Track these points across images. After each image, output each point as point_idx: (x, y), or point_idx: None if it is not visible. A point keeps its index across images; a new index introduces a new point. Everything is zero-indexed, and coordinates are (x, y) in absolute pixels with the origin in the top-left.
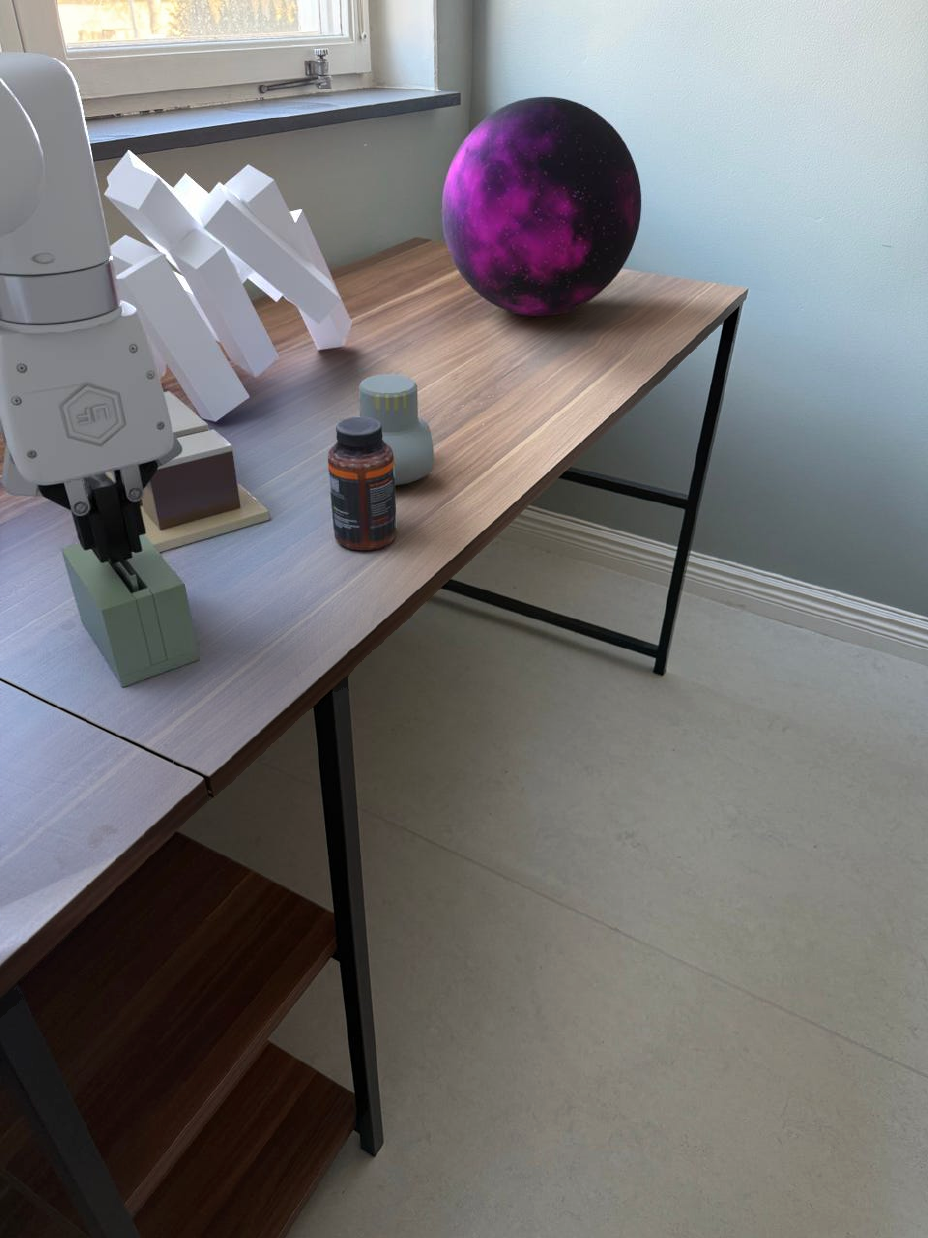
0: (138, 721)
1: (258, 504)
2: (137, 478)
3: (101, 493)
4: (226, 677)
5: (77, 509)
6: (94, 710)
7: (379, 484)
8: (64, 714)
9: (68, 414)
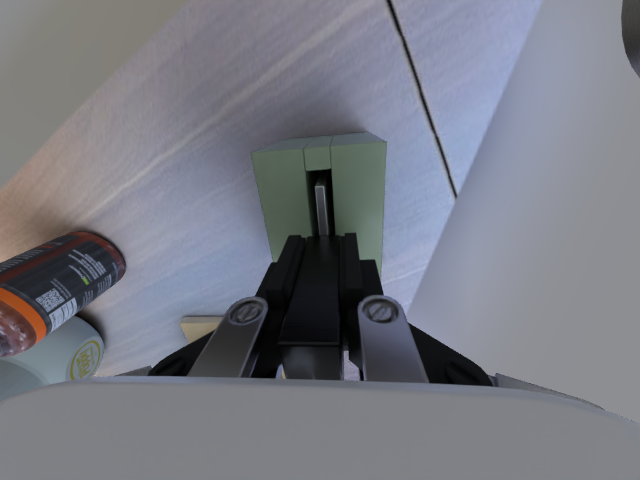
0: (373, 55)
1: (186, 334)
2: (216, 343)
3: (321, 331)
4: (263, 89)
5: (389, 308)
6: (406, 106)
7: None
8: (435, 116)
9: None
